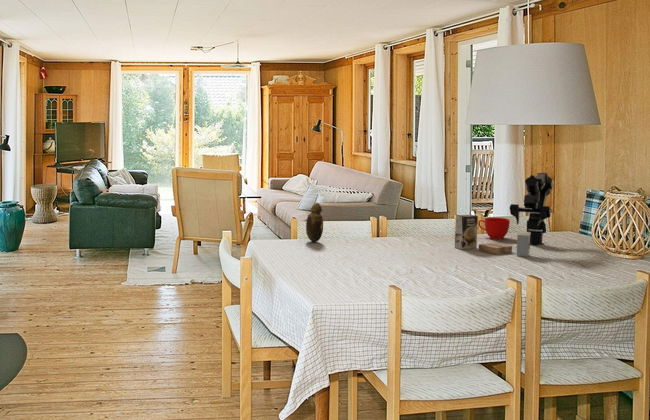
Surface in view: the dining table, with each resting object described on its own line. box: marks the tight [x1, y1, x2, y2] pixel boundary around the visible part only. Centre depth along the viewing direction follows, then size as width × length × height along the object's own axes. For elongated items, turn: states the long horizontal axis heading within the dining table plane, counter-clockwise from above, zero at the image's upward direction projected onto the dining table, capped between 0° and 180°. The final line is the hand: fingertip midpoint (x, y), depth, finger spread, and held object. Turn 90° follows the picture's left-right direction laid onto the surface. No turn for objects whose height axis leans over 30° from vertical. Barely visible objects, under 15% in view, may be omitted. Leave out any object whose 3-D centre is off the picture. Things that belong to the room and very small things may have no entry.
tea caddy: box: [516, 230, 531, 258], centre depth 349 cm, size 5×5×11 cm
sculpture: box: [305, 202, 324, 243], centre depth 380 cm, size 13×8×20 cm, turn 5°
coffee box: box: [454, 214, 479, 250], centre depth 367 cm, size 9×6×16 cm
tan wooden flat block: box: [478, 242, 513, 255], centre depth 359 cm, size 11×11×3 cm
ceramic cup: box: [477, 217, 511, 240], centre depth 397 cm, size 13×17×10 cm
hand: (527, 224), depth 355 cm, fingers open, 9 cm apart
